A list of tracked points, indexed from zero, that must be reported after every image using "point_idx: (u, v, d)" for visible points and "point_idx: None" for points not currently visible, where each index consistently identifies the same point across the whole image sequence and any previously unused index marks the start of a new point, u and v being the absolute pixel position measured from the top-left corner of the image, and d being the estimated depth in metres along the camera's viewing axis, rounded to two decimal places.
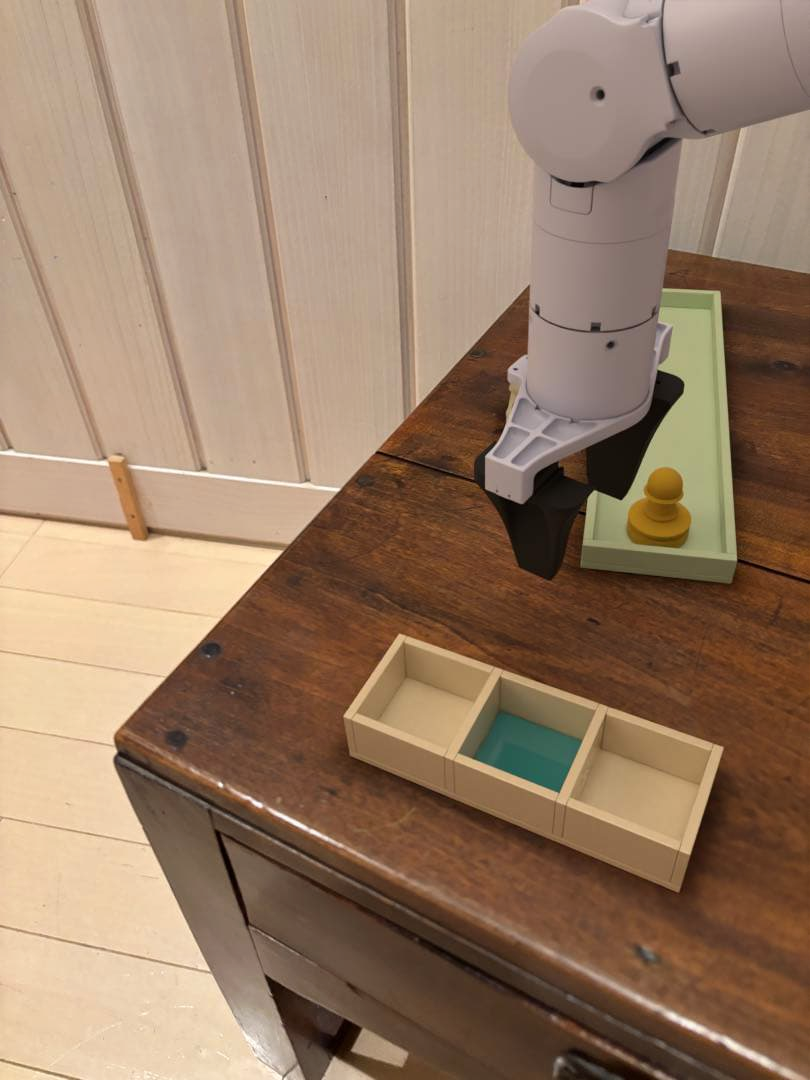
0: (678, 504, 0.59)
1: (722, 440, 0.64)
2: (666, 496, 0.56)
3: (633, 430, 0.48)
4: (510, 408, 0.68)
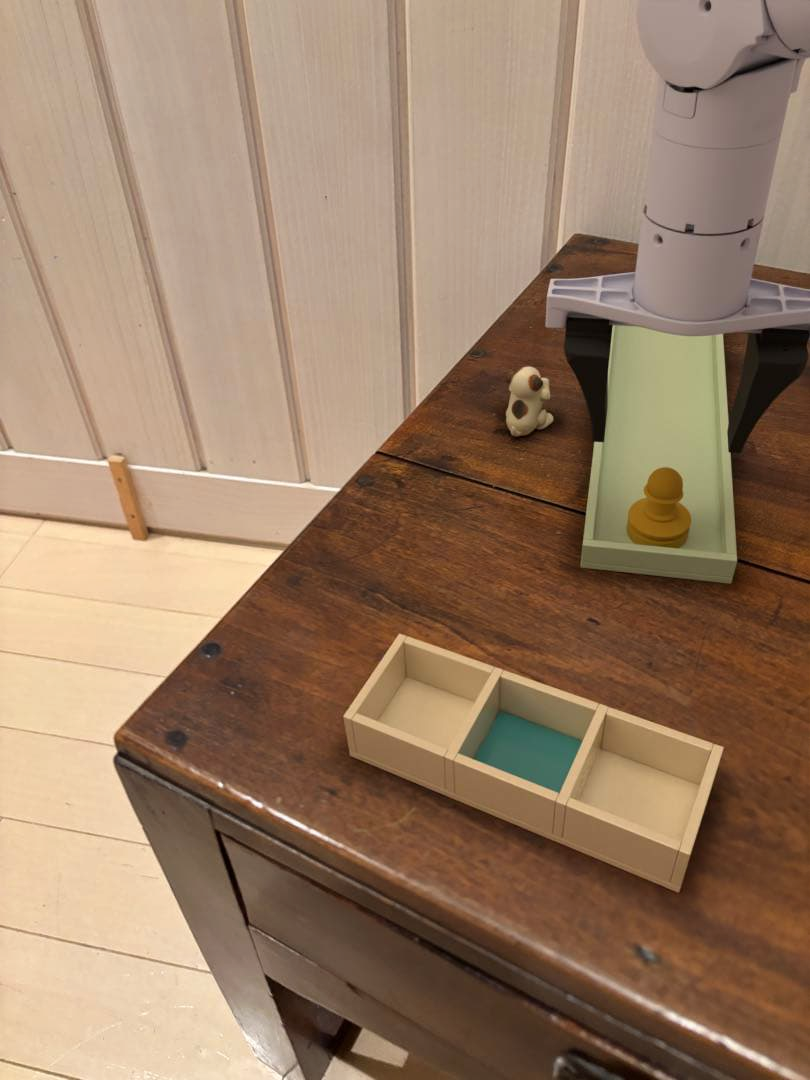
0: (678, 504, 0.59)
1: (722, 440, 0.64)
2: (666, 496, 0.56)
3: (748, 383, 0.49)
4: (510, 408, 0.68)
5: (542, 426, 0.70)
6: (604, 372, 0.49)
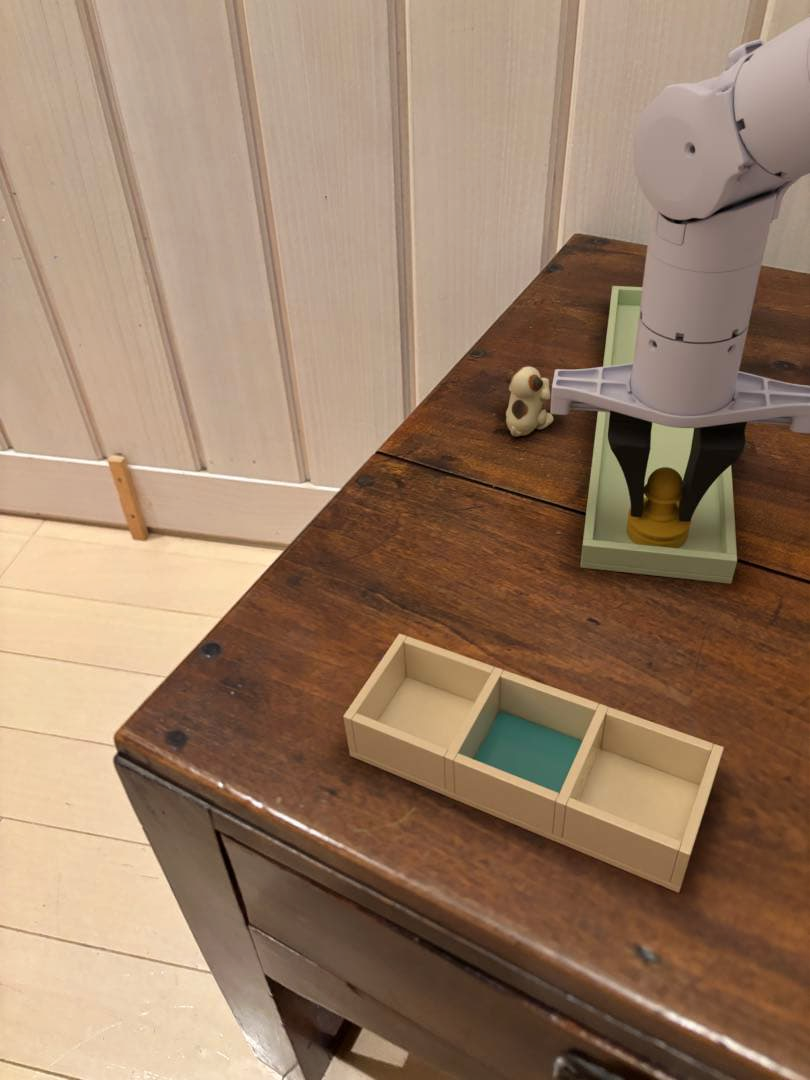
0: (678, 504, 0.59)
1: None
2: (666, 496, 0.56)
3: (693, 462, 0.54)
4: (510, 408, 0.68)
5: (542, 426, 0.70)
6: (645, 459, 0.54)
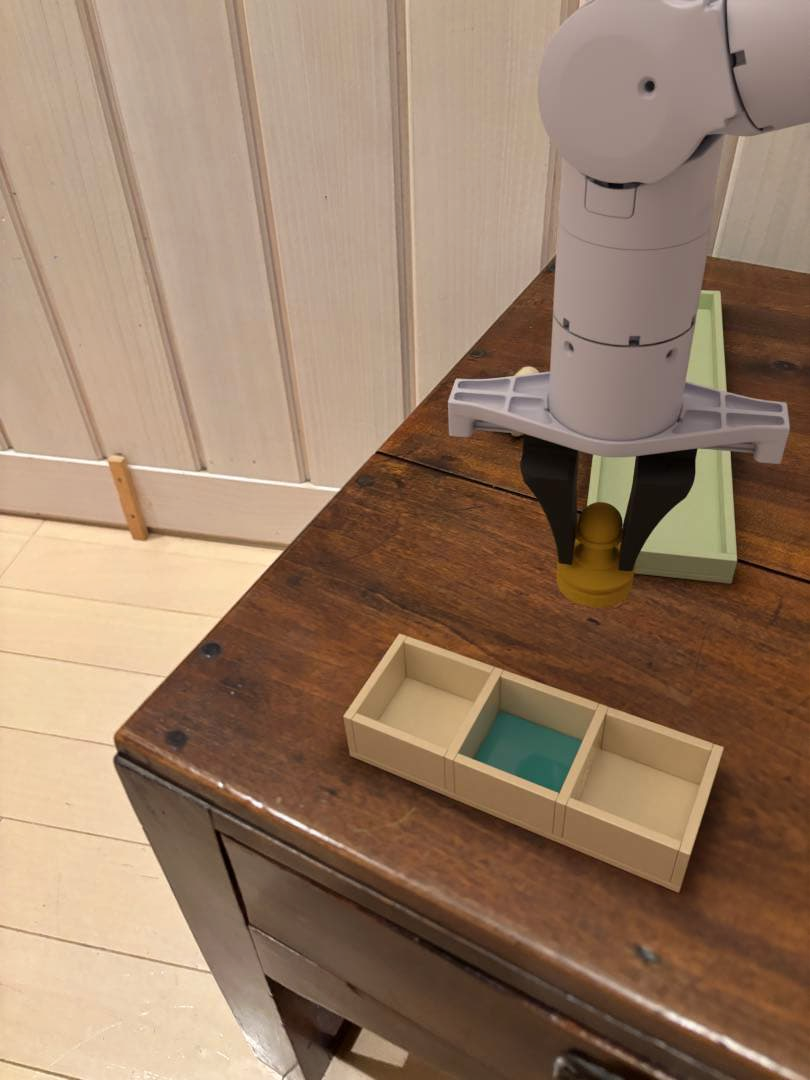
0: None
1: None
2: (600, 540, 0.45)
3: (632, 498, 0.42)
4: None
5: None
6: (568, 494, 0.42)
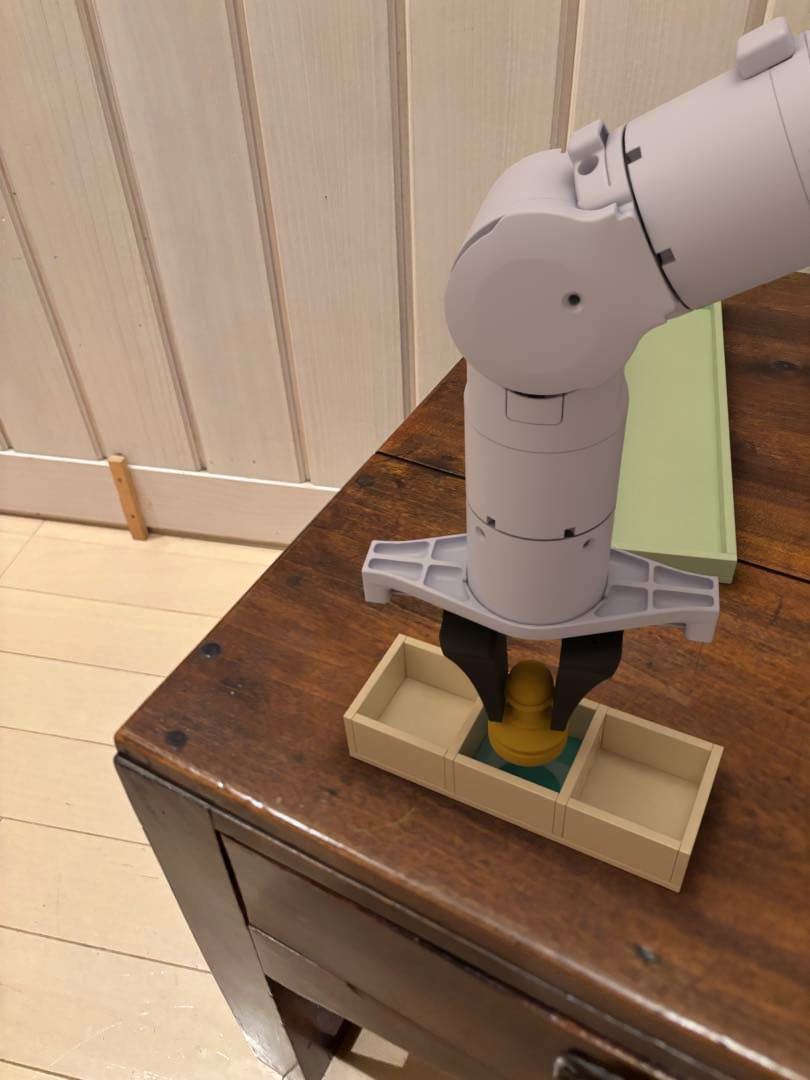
0: None
1: (722, 440, 0.64)
2: (529, 702, 0.42)
3: None
4: None
5: None
6: (490, 667, 0.39)
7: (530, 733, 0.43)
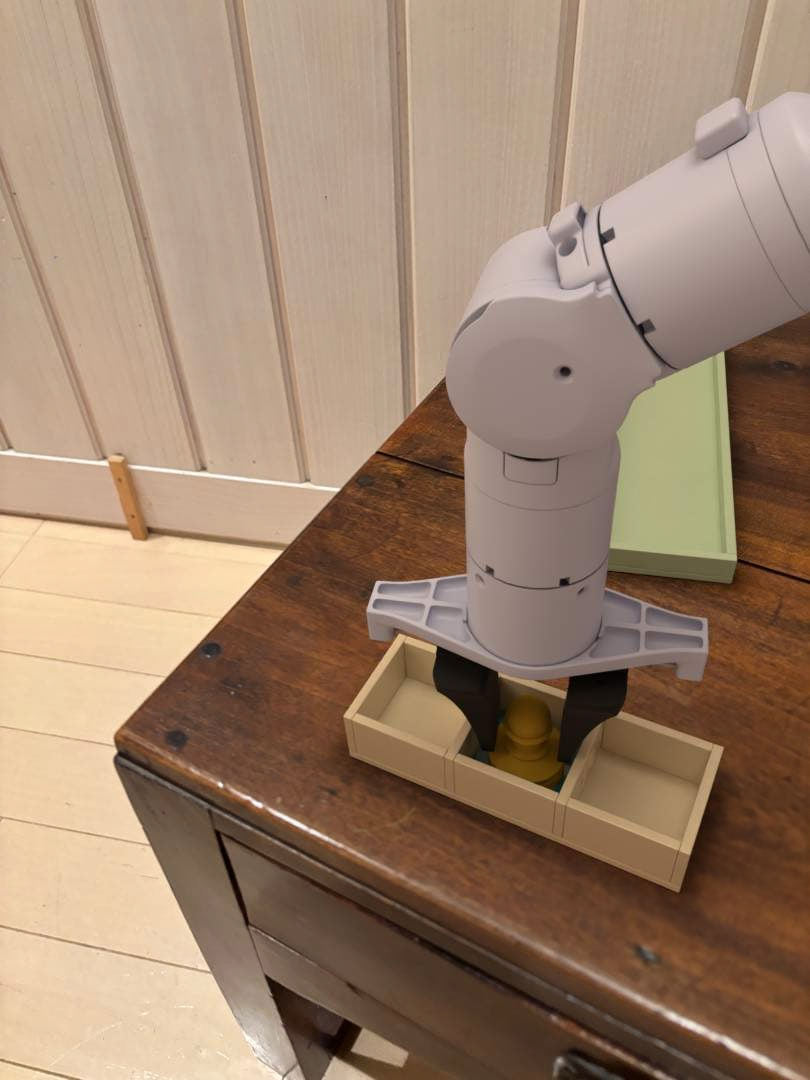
0: (552, 730, 0.47)
1: (722, 440, 0.64)
2: (528, 736, 0.44)
3: None
4: None
5: None
6: (482, 702, 0.41)
7: (528, 765, 0.45)
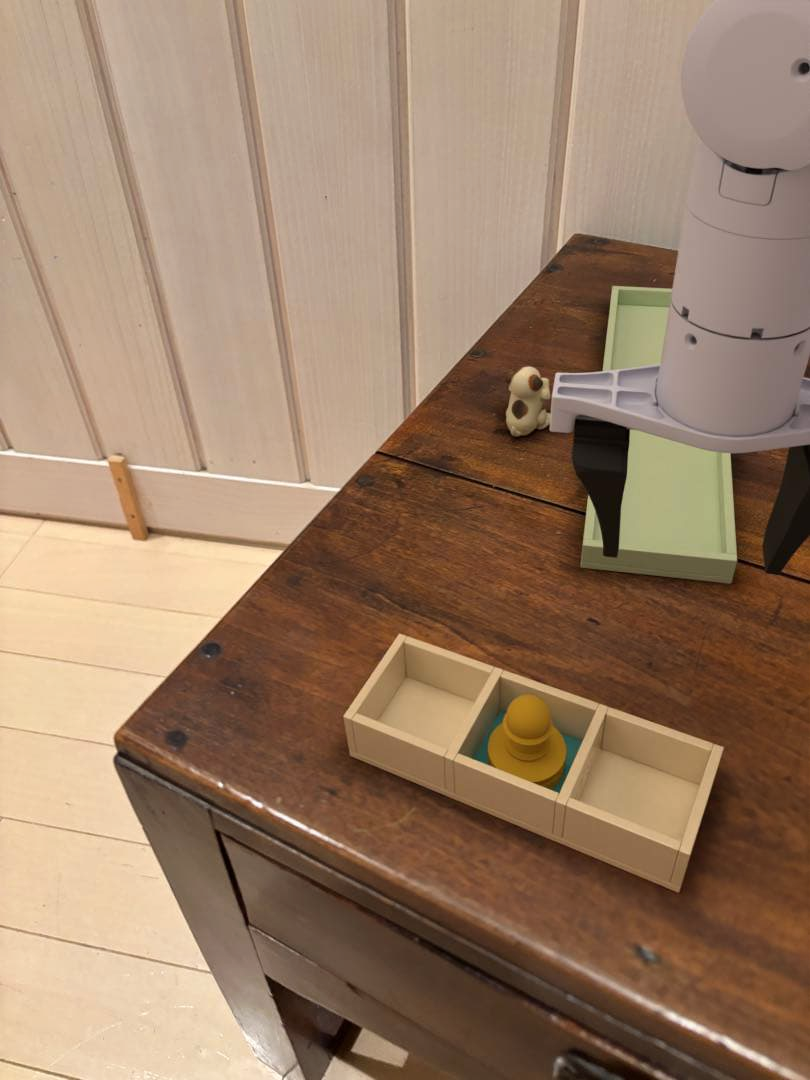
0: (552, 730, 0.47)
1: None
2: (528, 736, 0.44)
3: (793, 500, 0.41)
4: (510, 408, 0.68)
5: (542, 426, 0.70)
6: (620, 486, 0.41)
7: (528, 765, 0.45)
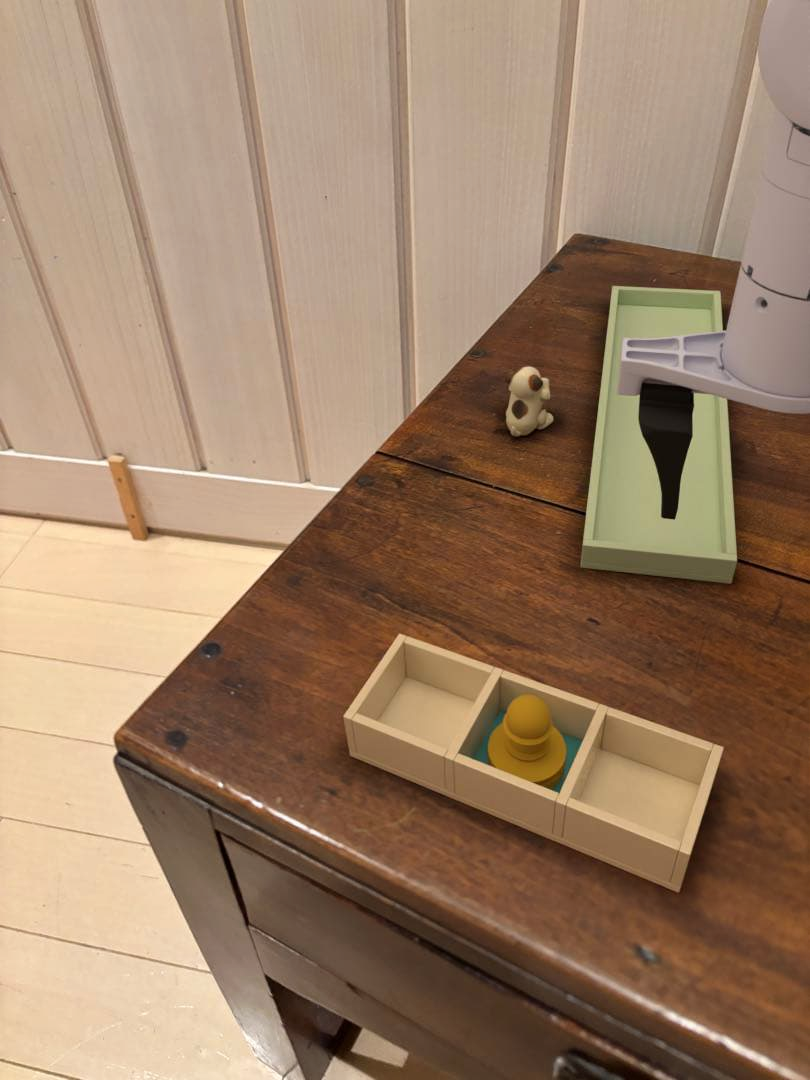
0: (552, 730, 0.47)
1: (722, 440, 0.64)
2: (528, 736, 0.44)
3: None
4: (510, 408, 0.68)
5: (542, 426, 0.70)
6: (684, 448, 0.43)
7: (528, 765, 0.45)
